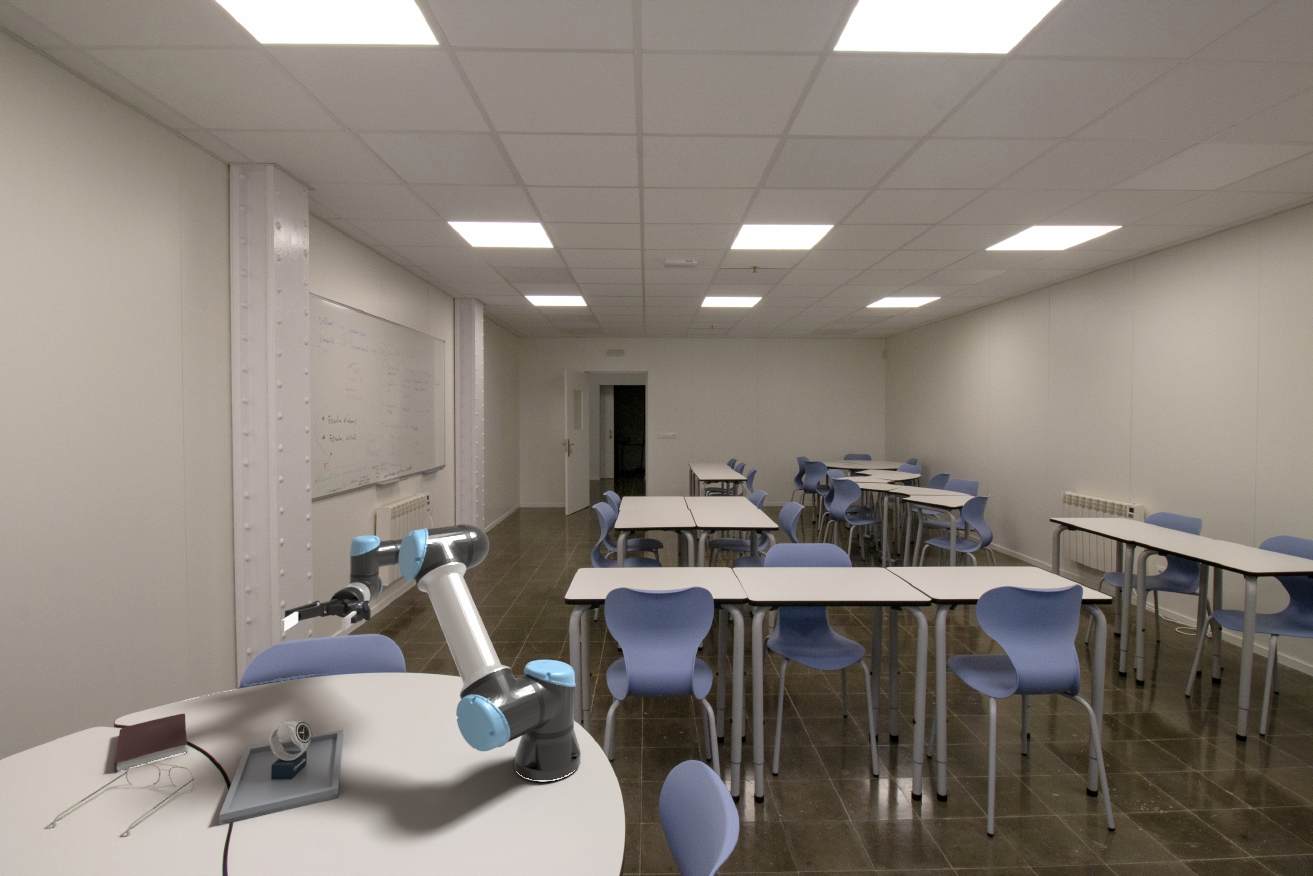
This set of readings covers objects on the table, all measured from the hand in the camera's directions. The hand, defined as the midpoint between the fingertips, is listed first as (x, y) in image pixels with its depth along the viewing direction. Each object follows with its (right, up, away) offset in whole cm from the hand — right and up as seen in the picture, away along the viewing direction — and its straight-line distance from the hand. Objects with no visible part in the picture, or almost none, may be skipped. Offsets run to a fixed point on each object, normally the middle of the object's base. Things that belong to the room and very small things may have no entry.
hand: (313, 625), depth 135 cm
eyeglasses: (-24, -30, -21) cm, 44 cm away
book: (-39, -30, +1) cm, 49 cm away
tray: (+1, -30, -10) cm, 32 cm away
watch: (+1, -29, -9) cm, 31 cm away
